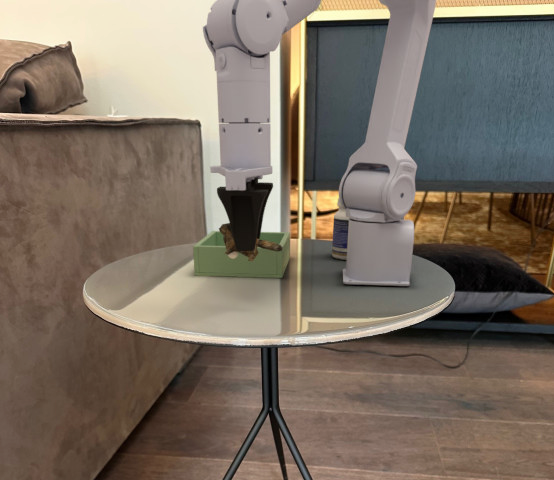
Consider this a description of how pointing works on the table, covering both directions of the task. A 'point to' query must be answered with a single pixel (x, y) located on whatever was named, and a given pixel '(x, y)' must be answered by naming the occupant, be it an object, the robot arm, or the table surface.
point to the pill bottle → (340, 233)
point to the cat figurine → (233, 252)
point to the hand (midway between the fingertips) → (247, 247)
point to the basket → (241, 258)
